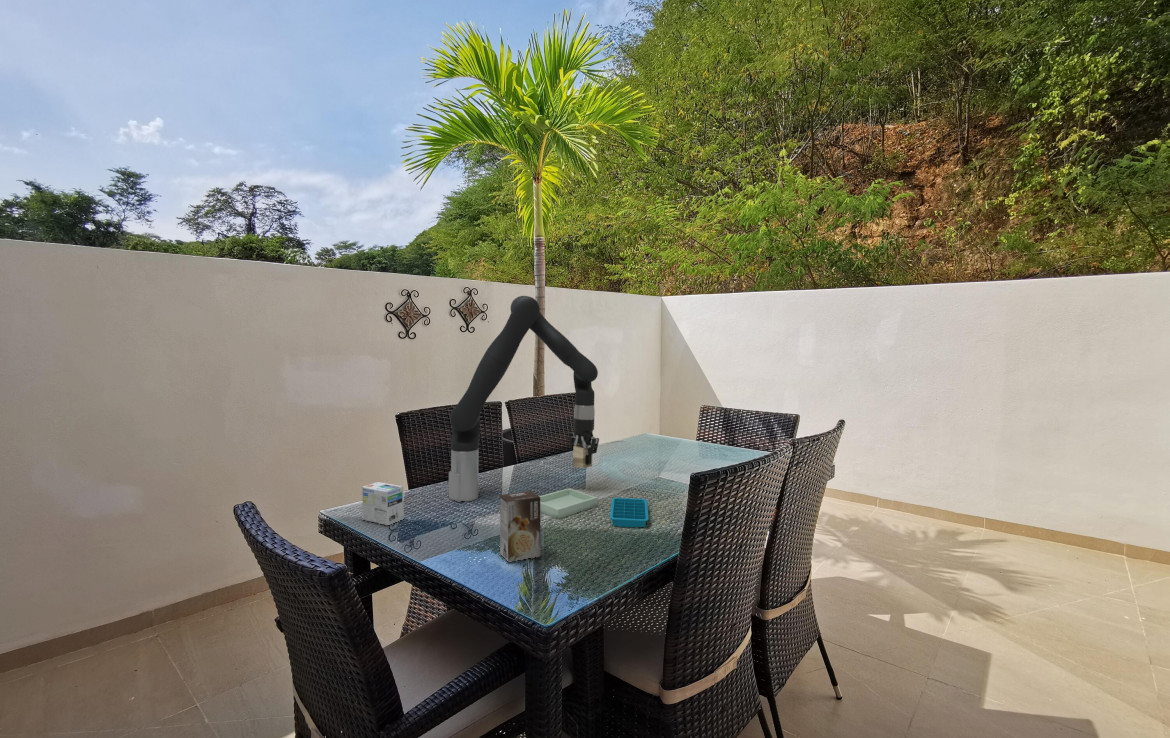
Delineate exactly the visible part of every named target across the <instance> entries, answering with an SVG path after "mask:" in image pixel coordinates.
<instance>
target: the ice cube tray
mask: <svg viewBox="0 0 1170 738" xmlns="http://www.w3.org/2000/svg"><path fill="white" fill-rule="evenodd" d="M610 506H611V507H610V514H609V519H610V520H611V521H612V522H611V523H612V526H613V527H616V526H619V528H635V527H644V528H646V523H647V522H648V521H649V508H648V500H647V499H645V498H632V497H631V498H630V497H613V498H612V499H611V505H610Z"/></svg>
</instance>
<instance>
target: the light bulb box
mask: <svg viewBox="0 0 1170 738" xmlns="http://www.w3.org/2000/svg"><path fill="white" fill-rule="evenodd" d="M361 491H362V493H361V495H362V498H361V499H362V501H361V502H362V520H363V519H365V520H369V521H374V522H378V523H381V524H385V525H390V524H392V525H394V524H393V523H395V522H397V523H399V522H401V521H400V520H402V521H404V520H405V518H404V517H405V510H404V503H405V502H404V485H398V484H392V483H387V482H380V481H377V482H376V481H375V482H373V483H370V484H367V485H363V486H362V487H361ZM403 519H404V520H403ZM398 521H399V522H398ZM395 524H396V523H395ZM390 526H391V525H390Z"/></svg>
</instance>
